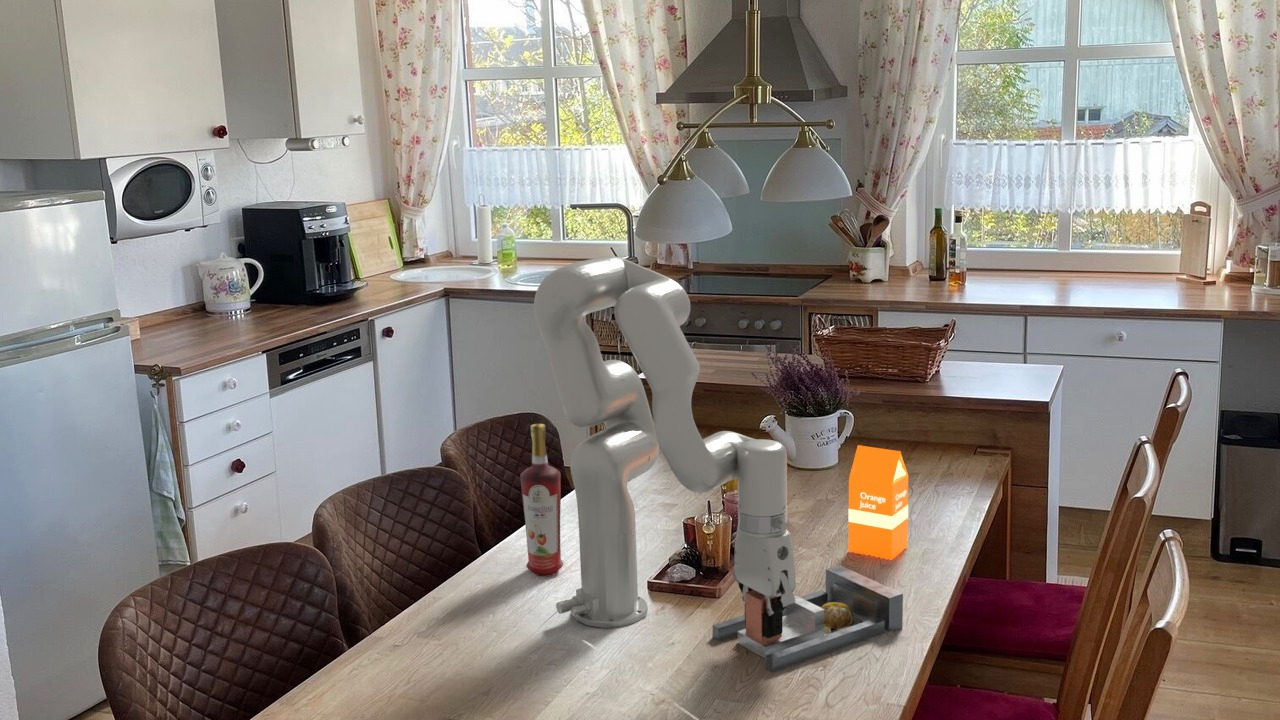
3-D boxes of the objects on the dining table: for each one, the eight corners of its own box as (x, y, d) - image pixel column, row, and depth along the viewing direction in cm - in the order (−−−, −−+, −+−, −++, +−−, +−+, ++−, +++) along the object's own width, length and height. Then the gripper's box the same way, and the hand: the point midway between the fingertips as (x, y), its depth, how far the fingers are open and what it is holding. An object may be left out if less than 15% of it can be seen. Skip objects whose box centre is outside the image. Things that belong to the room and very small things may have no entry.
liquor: (523, 579, 225) (515, 431, 219) (527, 564, 233) (520, 420, 227) (563, 578, 225) (556, 430, 219) (566, 563, 232) (560, 419, 226)
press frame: (772, 674, 187) (772, 637, 185) (712, 638, 199) (712, 604, 198) (902, 628, 201) (902, 593, 200) (838, 597, 213) (839, 565, 212)
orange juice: (864, 538, 240) (865, 440, 236) (907, 547, 235) (909, 446, 231) (847, 551, 234) (848, 450, 230) (891, 560, 229) (892, 457, 225)
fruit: (809, 638, 199) (809, 617, 198) (810, 616, 207) (810, 596, 206) (861, 640, 198) (862, 618, 197) (860, 618, 206) (860, 597, 205)
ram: (765, 659, 191) (764, 604, 189) (737, 643, 197) (736, 590, 195) (824, 638, 197) (824, 585, 195) (795, 623, 203) (795, 572, 201)
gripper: (817, 530, 186) (817, 642, 190) (747, 501, 199) (749, 606, 203) (778, 541, 182) (779, 656, 186) (710, 510, 195) (712, 618, 199)
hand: (763, 629), depth 194 cm, fingers closed on ram, 4 cm apart
